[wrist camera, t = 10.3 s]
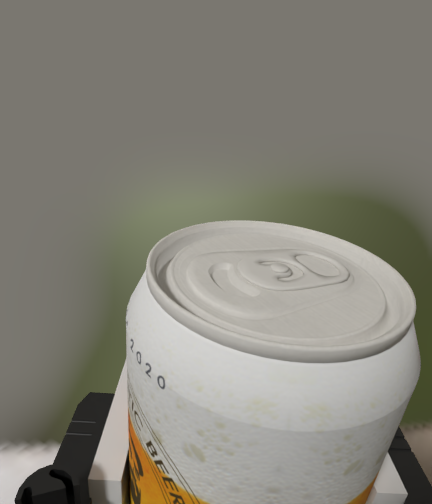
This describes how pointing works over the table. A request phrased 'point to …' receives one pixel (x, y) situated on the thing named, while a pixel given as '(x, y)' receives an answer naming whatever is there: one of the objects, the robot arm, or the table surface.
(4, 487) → the table surface
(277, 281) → the beer can
